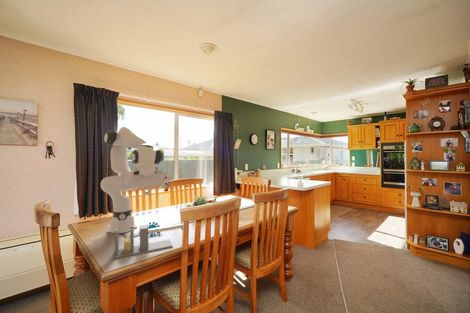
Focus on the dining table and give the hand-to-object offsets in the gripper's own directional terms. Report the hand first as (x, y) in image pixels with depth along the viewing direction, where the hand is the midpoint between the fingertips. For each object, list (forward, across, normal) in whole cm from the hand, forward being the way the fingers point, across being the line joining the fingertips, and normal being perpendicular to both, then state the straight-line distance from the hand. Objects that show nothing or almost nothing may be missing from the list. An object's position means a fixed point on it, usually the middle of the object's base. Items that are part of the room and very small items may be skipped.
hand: (146, 194), depth 126 cm
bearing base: (+30, +2, +6) cm, 31 cm away
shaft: (+23, -9, +6) cm, 26 cm away
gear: (+32, -6, -15) cm, 35 cm away
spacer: (+30, +11, +6) cm, 32 cm away
